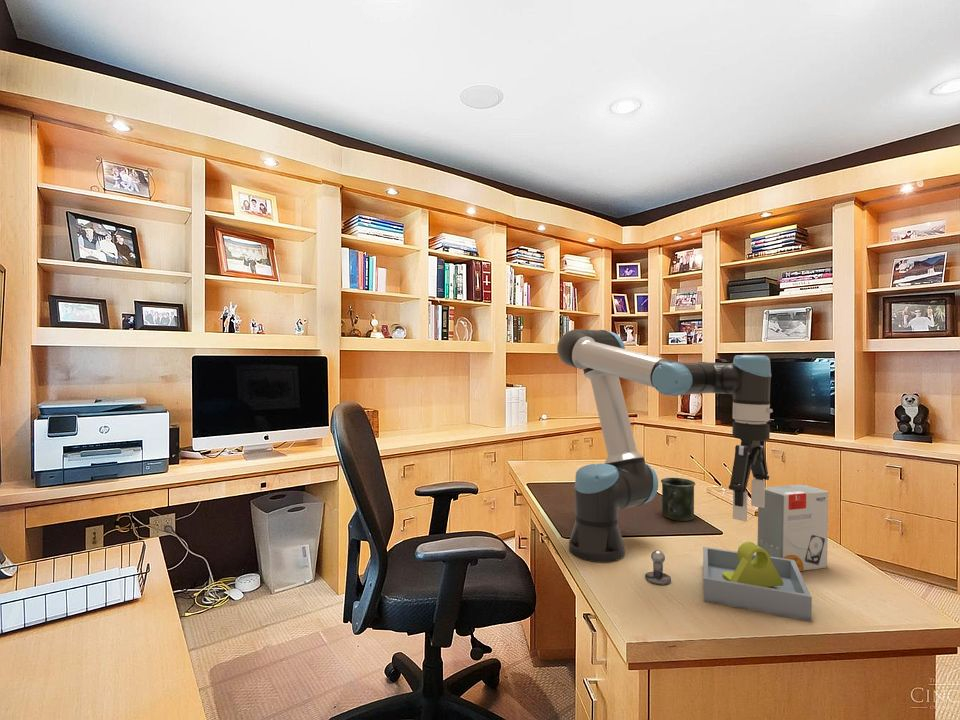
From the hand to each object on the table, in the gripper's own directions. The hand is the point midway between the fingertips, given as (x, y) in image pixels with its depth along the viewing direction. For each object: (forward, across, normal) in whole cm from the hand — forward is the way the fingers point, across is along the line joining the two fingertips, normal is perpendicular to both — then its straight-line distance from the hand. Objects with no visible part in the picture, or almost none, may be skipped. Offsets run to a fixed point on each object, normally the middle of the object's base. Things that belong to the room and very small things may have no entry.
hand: (749, 512), depth 112 cm
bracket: (+17, 0, -1) cm, 17 cm away
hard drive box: (+18, +22, -4) cm, 29 cm away
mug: (+19, +39, +33) cm, 54 cm away
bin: (+18, 0, -1) cm, 18 cm away
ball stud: (+18, -10, +17) cm, 27 cm away
